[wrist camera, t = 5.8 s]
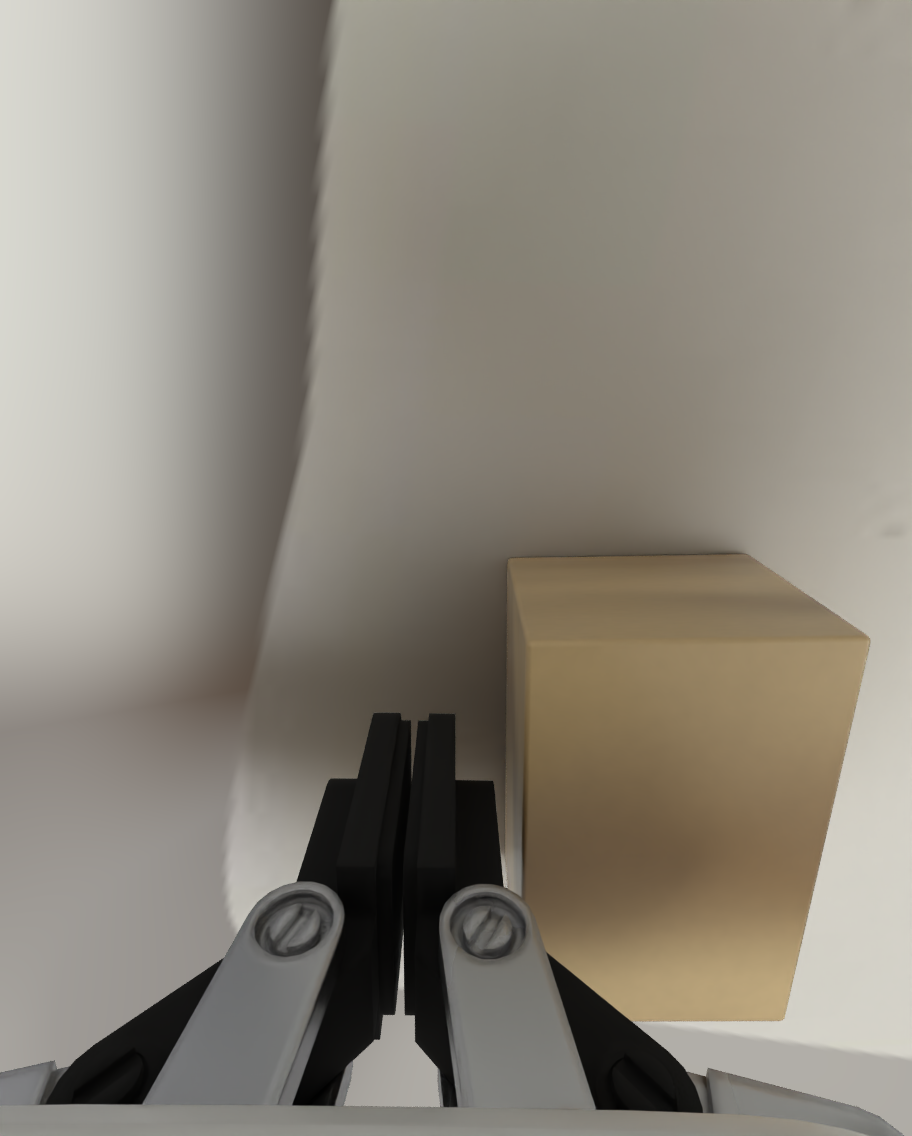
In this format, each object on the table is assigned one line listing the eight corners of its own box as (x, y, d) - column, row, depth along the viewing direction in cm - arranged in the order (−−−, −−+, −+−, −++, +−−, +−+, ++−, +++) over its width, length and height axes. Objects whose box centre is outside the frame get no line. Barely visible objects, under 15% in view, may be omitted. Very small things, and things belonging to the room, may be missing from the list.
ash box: (507, 556, 12) (526, 642, 9) (749, 552, 12) (874, 636, 9) (505, 857, 15) (518, 1023, 11) (704, 855, 15) (785, 1023, 11)
